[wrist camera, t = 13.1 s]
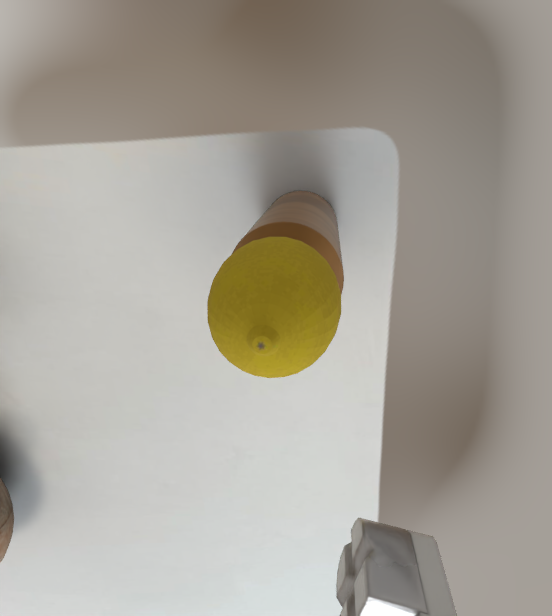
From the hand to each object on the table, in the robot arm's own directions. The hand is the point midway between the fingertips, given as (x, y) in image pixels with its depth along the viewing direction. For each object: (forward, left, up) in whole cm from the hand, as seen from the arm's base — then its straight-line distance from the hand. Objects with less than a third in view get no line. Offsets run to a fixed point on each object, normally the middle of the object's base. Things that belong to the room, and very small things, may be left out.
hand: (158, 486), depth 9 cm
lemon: (0, +1, -14) cm, 14 cm away
